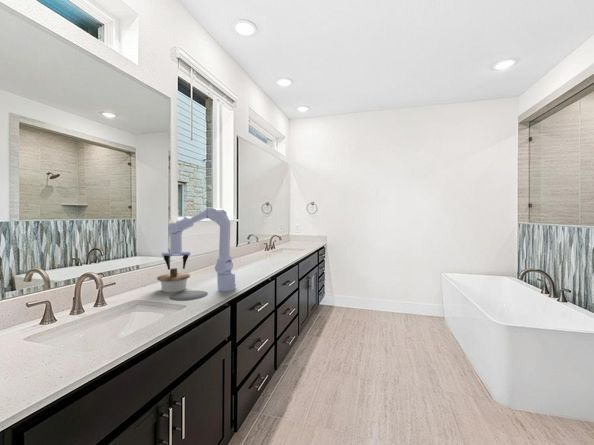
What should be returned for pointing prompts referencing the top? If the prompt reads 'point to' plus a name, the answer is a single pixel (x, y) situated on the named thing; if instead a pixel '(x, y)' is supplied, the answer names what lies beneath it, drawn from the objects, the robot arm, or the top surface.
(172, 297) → the mat
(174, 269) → the lid
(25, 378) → the top surface
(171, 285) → the ramekin
